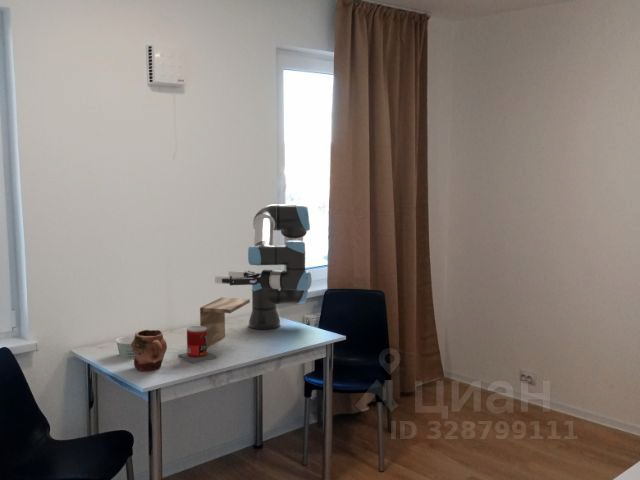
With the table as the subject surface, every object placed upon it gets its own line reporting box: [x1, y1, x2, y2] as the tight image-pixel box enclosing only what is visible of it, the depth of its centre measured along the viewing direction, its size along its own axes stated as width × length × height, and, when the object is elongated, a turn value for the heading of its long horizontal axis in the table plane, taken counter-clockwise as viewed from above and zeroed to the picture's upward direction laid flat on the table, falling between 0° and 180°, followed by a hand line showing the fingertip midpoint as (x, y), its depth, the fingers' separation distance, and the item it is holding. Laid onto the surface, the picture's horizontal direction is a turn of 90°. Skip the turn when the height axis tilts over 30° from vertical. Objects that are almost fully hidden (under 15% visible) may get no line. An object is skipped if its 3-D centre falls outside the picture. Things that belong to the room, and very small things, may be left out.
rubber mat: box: [177, 351, 218, 364], centre depth 257 cm, size 11×11×1 cm
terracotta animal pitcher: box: [131, 329, 168, 372], centre depth 241 cm, size 20×12×14 cm, turn 45°
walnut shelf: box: [199, 297, 251, 349], centre depth 275 cm, size 14×22×18 cm, turn 165°
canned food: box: [186, 325, 208, 357], centre depth 256 cm, size 8×8×11 cm
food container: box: [115, 335, 135, 359], centre depth 260 cm, size 12×12×6 cm
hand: (222, 277), depth 258 cm, fingers open, 13 cm apart
